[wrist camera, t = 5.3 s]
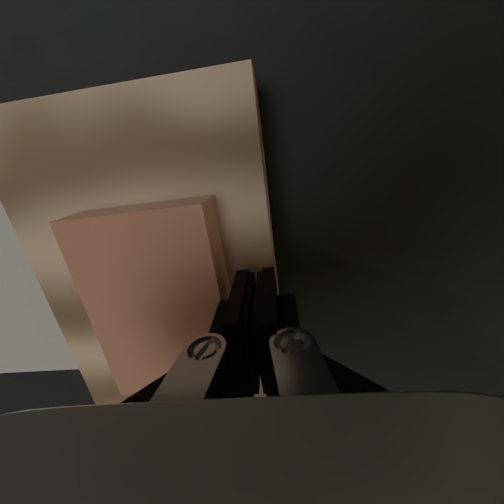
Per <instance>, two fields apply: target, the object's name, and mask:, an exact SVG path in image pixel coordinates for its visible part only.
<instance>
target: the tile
mask: <svg viewBox="0 0 504 504" xmlns="http://www.w3.org/2000/svg"><path fill="white" fill-rule="evenodd" d="M49 224H50V226H51V229H52V231H53V233H54V236H55V238H56V241H57V243H58V245H59V248H60V250H61V253H62V255H63V257H64V260H65V262H66V265H67V267H68V269H69V272H70V274H71V277H72V279H73V281H74V284H75V286H76V288H77V291H78V293H79V296H80V298H81V300H82V303H83V305H84V308H85V310H86V312H87V315H88V317H89V320H90V322H91V324H92V327H93V329H94V332H95V334H96V336H97V339H98V341H99V344H100V346H101V348H102V351H103V353H104V356H105V358H106V360H107V363H108V365H109V367H110V370H111V372H112V375H113V377H114V379H115V382H116V384H117V387H118V389H119V391H120V394H121V396H124V395H133V394H135V393H136V392H138V391H139V390H141V389H142V388H144V387H145V386H147V385H149V384H150V383H152V382H153V381H155V380H156V379H158V378H160V377H161V376H163V375H164V374H166V373H167V372H169V370H170V368H171V367H172V365H173V364H174V362H175V361H176V359H177V357H178V356H179V354H180V353H181V351H182V350H183V348H184V346H185V345H186V344H187V343H188V342H189V341H190V340H192V339H193V338H195V337H197V336H199V335H202V334H206V333H209V330H210V327H211V324H212V321H213V318H214V315H215V312H216V309H217V306H218V303H219V301H220V300H228V298H229V295H230V291H231V290H230V285H229V279H228V274H227V268H226V263H225V257H224V252H223V247H222V241H221V236H220V230H219V225H218V219H217V214H216V208H215V203H214V197H213V195H207V196H199V197H190V198H182V199H174V200H166V201H158V202H150V203H142V204H134V205H126V206H118V207H110V208H102V209H94V210H86V211H81V212H78V213H75V214H72V215H69V216H66V217H63V218H60V219H57V220H54V221H51V222H49Z"/></svg>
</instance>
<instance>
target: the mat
mask: <svg viewBox="0 0 504 504" xmlns="http://www.w3.org/2000/svg"><path fill="white" fill-rule="evenodd" d="M70 369H79V367H78V365H77V363H76V361H75V359H74V357H73V355H72V352H71V350H70V348H69V346H68V344H67V342H66V340H65V337H64V335H63V333H62V331H61V329H60V327H59V325H58V323H57V320H56V318H55V316H54V314H53V312H52V310H51V308H50V305H49V303H48V301H47V299H46V297H45V295H44V293H43V291H42V288H41V286H40V284H39V282H38V280H37V278H36V276H35V273H34V271H33V269H32V267H31V265H30V263H29V261H28V259H27V256H26V254H25V252H24V250H23V248H22V246H21V244H20V241H19V239H18V237H17V235H16V233H15V231H14V229H13V226H12V224H11V222H10V220H9V218H8V216H7V214H6V212H5V209H4V207H3V205H2V203H1V201H0V373H10V372H30V371H50V370H70Z"/></svg>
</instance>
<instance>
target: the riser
mask: <svg viewBox="0 0 504 504" xmlns="http://www.w3.org/2000/svg"><path fill="white" fill-rule="evenodd" d="M207 195H213V197H214V203H215V208H216V214H217V219H218V225H219V230H220V236H221V241H222V247H223V252H224V257H225V263H226V268H227V274H228V279H229V285H230V290H231V288H232V284H233V281H234V277H235V274H236V271H237V270H246V269H249V271H250V272H254V275H255V282H256V278H257V272H258V271H261V270H262V268H266V267H274V271H275V279H276V287H277V295H279V289H278V280H277V270H276V261H275V251H274V242H273V233H272V223H271V214H270V204H269V195H268V185H267V176H266V166H265V157H264V148H263V138H262V129H261V119H260V110H259V100H258V91H257V83H256V79H255V74H254V70H253V66H252V61H251V59H249V60H244V61H238V62H232V63H227V64H221V65H216V66H210V67H204V68H199V69H193V70H187V71H182V72H176V73H170V74H165V75H159V76H154V77H148V78H142V79H137V80H131V81H125V82H120V83H114V84H109V85H103V86H97V87H92V88H86V89H80V90H75V91H69V92H63V93H58V94H52V95H47V96H41V97H35V98H30V99H24V100H18V101H13V102H7V103H1V104H0V201H1V203H2V205H3V207H4V209H5V212H6V214H7V216H8V218H9V220H10V222H11V224H12V226H13V229H14V231H15V233H16V235H17V237H18V239H19V241H20V244H21V246H22V248H23V250H24V252H25V254H26V256H27V259H28V261H29V263H30V265H31V267H32V269H33V271H34V273H35V276H36V278H37V280H38V282H39V284H40V286H41V288H42V291H43V293H44V295H45V297H46V299H47V301H48V303H49V305H50V308H51V310H52V312H53V314H54V316H55V318H56V320H57V323H58V325H59V327H60V329H61V331H62V333H63V335H64V337H65V340H66V342H67V344H68V346H69V348H70V350H71V352H72V355H73V357H74V359H75V361H76V363H77V365H78V367H79V370H80V372H81V374H82V376H83V378H84V380H85V382H86V384H87V387H88V389H89V391H90V393H91V395H92V397H93V399H94V402H95V404H96V405H99V404H118V403H121V402H122V401H124V400H125V399H127V398H128V397H130V396H131V395H124V396H121V394H120V391H119V389H118V387H117V384H116V382H115V379H114V377H113V375H112V372H111V370H110V367H109V365H108V363H107V360H106V358H105V356H104V353H103V351H102V348H101V346H100V344H99V341H98V339H97V336H96V334H95V332H94V329H93V327H92V324H91V322H90V320H89V317H88V315H87V312H86V310H85V308H84V305H83V303H82V300H81V298H80V296H79V293H78V291H77V288H76V286H75V284H74V281H73V279H72V277H71V274H70V272H69V269H68V267H67V265H66V262H65V260H64V257H63V255H62V253H61V250H60V248H59V245H58V243H57V241H56V238H55V236H54V233H53V231H52V229H51V226H50V224H49V222H51V221H54V220H57V219H60V218H63V217H66V216H69V215H72V214H75V213H78V212H81V211H86V210H94V209H102V208H110V207H118V206H126V205H134V204H142V203H150V202H158V201H166V200H174V199H182V198H190V197H199V196H207ZM254 397H267V396H266V394H263V389H262V383H261V377H260V390H259V394H254Z"/></svg>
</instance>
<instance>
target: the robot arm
mask: <svg viewBox="0 0 504 504" xmlns="http://www.w3.org/2000/svg"><path fill="white" fill-rule="evenodd" d="M260 377H261V383H262V389H263V394H266V396H267V397H254V394H259V390H260ZM0 504H504V396H498V395H491V394H484V393H477V392H462V391H388V390H387V389H385V388H383V387H382V386H380V385H378V384H376V383H374V382H372V381H371V380H369V379H367V378H365V377H363V376H362V375H360V374H358V373H356V372H354V371H352V370H351V369H349V368H347V367H345V366H343V365H341V364H340V363H338V362H336V361H334V360H332V359H330V358H329V357H327V356H325V355H323V354H322V353H321V350H320V348H319V346H318V344H317V342H316V340H315V338H314V336H313V335H312V334H311V333H310V332H309V331H307V330H305V329H302V328H300V325H299V318H298V312H297V306H296V300H295V295H294V294H284V295H277V287H276V279H275V271H274V267H266V268H262V270H261V271H258V272H257V278H256V282H255V275H254V272H250V271H249V269H246V270H237V271H236V274H235V277H234V281H233V284H232V288H231V291H230V295H229V298H228V300H220V301H219V303H218V306H217V309H216V312H215V315H214V318H213V321H212V324H211V327H210V330H209V333H206V334H202V335H199V336H197V337H195V338H193V339H192V340H190V341H189V342H188V343H187V344H186V345H185V346H184V348H183V350H182V351H181V353H180V354H179V356H178V357H177V359H176V361H175V362H174V364H173V365H172V367H171V368H170V370H169V372H167V373H166V374H164V375H163V376H161V377H160V378H158V379H156V380H155V381H153V382H152V383H150V384H149V385H147V386H145V387H144V388H142V389H141V390H139V391H138V392H136V393H135V394H133V395H131V396H130V397H128V398H127V399H125V400H124V401H122V402H121V403H118V404H99V405H79V406H63V407H52V408H40V409H30V410H24V411H18V412H12V413H6V414H2V415H0Z"/></svg>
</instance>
